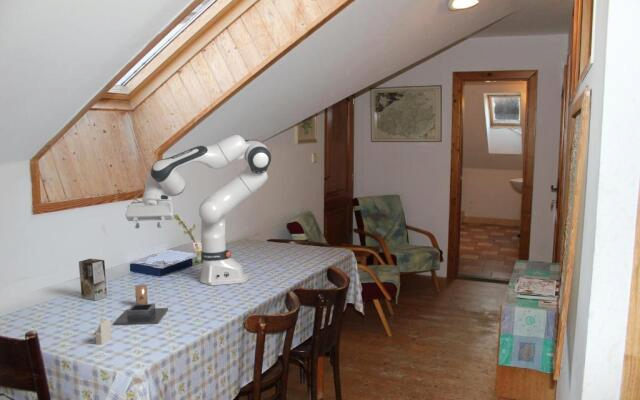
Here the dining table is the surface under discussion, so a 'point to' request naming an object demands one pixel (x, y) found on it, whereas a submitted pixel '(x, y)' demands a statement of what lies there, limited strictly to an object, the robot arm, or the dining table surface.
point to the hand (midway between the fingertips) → (148, 227)
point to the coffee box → (93, 279)
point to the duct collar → (141, 315)
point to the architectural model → (103, 332)
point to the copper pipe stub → (141, 294)
